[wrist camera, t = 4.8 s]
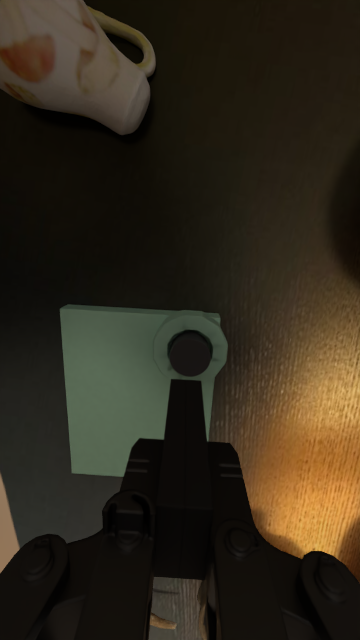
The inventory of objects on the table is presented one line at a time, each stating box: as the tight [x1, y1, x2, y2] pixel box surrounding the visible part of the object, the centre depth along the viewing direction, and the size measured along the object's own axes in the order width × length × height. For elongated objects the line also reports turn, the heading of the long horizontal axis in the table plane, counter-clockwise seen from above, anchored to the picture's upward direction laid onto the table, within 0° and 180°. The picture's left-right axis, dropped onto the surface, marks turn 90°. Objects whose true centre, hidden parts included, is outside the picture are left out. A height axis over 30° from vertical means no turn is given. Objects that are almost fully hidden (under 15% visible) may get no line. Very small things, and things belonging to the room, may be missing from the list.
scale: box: [60, 304, 228, 477], centre depth 26 cm, size 18×14×4 cm
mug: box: [0, 0, 156, 135], centre depth 17 cm, size 8×10×10 cm
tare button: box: [170, 332, 211, 377], centre depth 22 cm, size 3×3×2 cm
